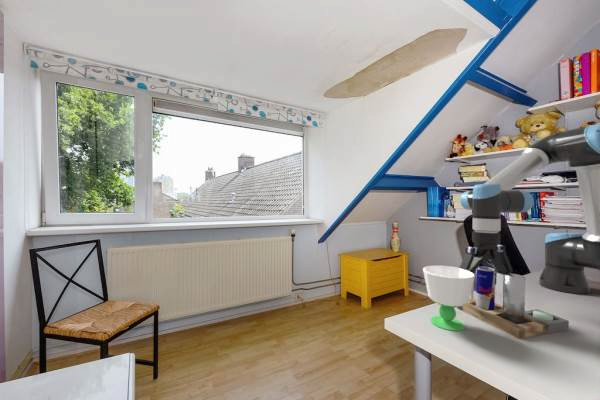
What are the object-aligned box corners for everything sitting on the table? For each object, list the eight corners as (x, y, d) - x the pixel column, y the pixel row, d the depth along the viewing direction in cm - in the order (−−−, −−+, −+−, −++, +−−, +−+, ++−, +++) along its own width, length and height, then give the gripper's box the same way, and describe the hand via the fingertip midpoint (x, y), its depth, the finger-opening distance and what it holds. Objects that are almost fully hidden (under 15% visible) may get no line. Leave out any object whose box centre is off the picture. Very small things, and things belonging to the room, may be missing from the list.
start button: (539, 317, 82) (539, 310, 82) (556, 324, 78) (556, 316, 78) (529, 319, 81) (529, 311, 81) (545, 326, 76) (545, 318, 76)
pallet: (482, 304, 94) (482, 297, 94) (548, 333, 74) (548, 324, 74) (457, 308, 91) (457, 300, 91) (519, 338, 71) (519, 329, 71)
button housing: (537, 317, 84) (537, 309, 84) (568, 329, 76) (568, 320, 76) (518, 320, 82) (518, 312, 82) (548, 333, 74) (548, 324, 74)
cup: (442, 337, 72) (442, 279, 72) (413, 314, 86) (413, 266, 85) (486, 333, 74) (487, 277, 74) (451, 312, 88) (451, 264, 88)
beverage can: (479, 315, 85) (480, 269, 85) (472, 309, 90) (473, 265, 90) (497, 317, 84) (498, 270, 84) (489, 310, 89) (490, 266, 89)
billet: (511, 321, 81) (511, 272, 81) (528, 329, 76) (529, 277, 76) (498, 323, 80) (499, 274, 80) (515, 331, 75) (516, 279, 75)
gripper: (503, 228, 93) (502, 288, 94) (445, 231, 87) (444, 295, 87) (526, 231, 86) (525, 296, 86) (465, 234, 80) (464, 304, 80)
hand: (485, 295), depth 87 cm, fingers open, 13 cm apart
